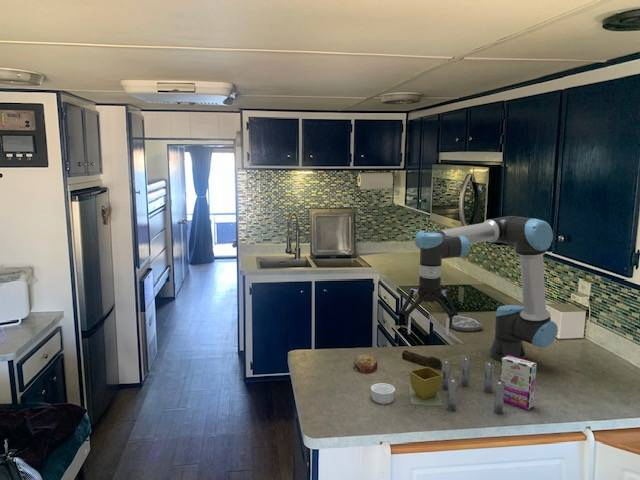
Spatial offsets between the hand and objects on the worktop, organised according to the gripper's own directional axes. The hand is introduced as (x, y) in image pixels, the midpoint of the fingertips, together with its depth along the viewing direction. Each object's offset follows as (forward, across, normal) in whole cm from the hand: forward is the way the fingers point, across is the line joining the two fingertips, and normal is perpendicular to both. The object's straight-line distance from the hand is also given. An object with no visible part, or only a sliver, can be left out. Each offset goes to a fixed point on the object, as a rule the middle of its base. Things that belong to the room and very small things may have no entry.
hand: (427, 333), depth 185 cm
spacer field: (+25, +16, +1) cm, 30 cm away
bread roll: (+25, -22, +23) cm, 41 cm away
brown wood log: (+25, +2, +31) cm, 40 cm away
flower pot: (+24, 0, 0) cm, 24 cm away
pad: (+25, 0, 0) cm, 25 cm away
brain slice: (+25, +27, +80) cm, 88 cm away
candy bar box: (+25, +32, -2) cm, 41 cm away
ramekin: (+25, -16, -3) cm, 30 cm away
